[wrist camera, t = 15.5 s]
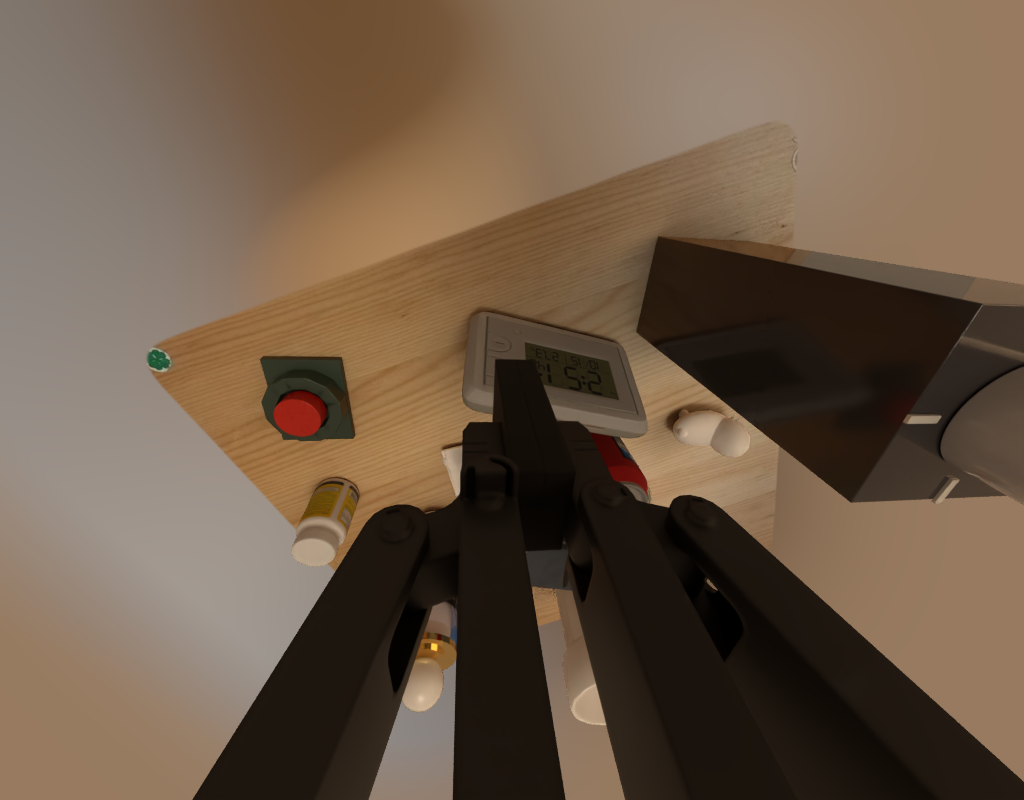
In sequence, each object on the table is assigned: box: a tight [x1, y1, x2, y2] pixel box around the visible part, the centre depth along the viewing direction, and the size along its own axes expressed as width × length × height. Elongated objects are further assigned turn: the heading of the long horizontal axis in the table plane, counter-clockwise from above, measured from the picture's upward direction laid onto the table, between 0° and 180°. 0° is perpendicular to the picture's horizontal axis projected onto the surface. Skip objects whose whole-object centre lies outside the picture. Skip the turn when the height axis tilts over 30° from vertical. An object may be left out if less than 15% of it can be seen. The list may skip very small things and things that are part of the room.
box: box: [526, 537, 572, 591], centre depth 43 cm, size 11×7×10 cm, turn 70°
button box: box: [260, 357, 355, 441], centre depth 36 cm, size 9×7×2 cm
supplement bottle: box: [291, 478, 359, 566], centre depth 39 cm, size 5×5×8 cm
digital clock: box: [462, 312, 648, 438], centre depth 33 cm, size 16×9×11 cm, turn 63°
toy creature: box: [673, 410, 751, 457], centre depth 41 cm, size 5×8×6 cm, turn 86°
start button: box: [274, 391, 327, 437], centre depth 34 cm, size 4×4×2 cm
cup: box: [555, 589, 606, 725], centre depth 46 cm, size 11×11×17 cm
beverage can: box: [590, 432, 648, 503], centre depth 38 cm, size 7×7×12 cm
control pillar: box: [637, 236, 1024, 503], centre depth 25 cm, size 9×9×24 cm
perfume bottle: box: [402, 511, 458, 712], centre depth 38 cm, size 6×6×20 cm
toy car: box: [441, 445, 462, 497], centre depth 43 cm, size 5×8×2 cm, turn 12°
